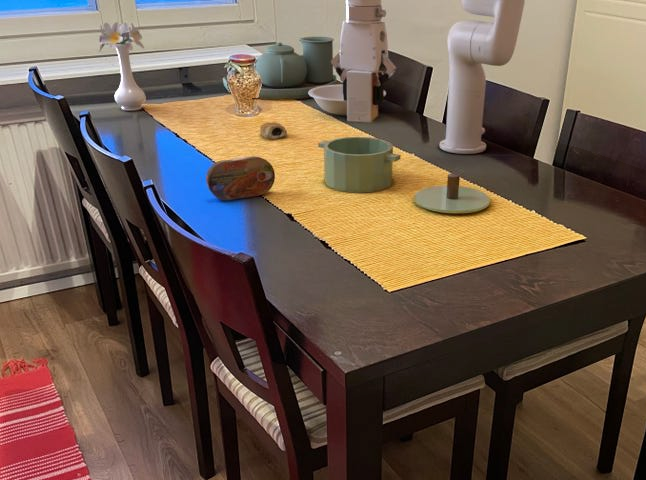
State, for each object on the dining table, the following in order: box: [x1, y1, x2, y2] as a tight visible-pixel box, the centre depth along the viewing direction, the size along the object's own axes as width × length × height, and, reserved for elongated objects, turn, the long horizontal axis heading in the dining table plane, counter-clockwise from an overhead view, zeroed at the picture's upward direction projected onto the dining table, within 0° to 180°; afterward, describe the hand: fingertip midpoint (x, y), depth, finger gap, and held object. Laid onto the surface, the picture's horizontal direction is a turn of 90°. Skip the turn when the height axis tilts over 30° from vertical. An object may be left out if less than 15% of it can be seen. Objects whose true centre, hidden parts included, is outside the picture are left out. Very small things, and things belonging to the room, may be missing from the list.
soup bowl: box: [308, 83, 387, 116], centre depth 230 cm, size 24×24×7 cm
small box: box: [346, 70, 379, 123], centre depth 164 cm, size 8×6×10 cm
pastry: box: [259, 121, 287, 141], centre depth 208 cm, size 9×7×4 cm
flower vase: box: [97, 21, 147, 112], centre depth 227 cm, size 13×18×25 cm
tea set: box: [222, 36, 338, 101], centre depth 258 cm, size 40×40×16 cm
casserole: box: [317, 136, 402, 193], centre depth 172 cm, size 16×21×8 cm
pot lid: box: [413, 173, 491, 214], centre depth 161 cm, size 17×17×6 cm
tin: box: [205, 155, 276, 202], centre depth 162 cm, size 15×3×8 cm, turn 117°
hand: (363, 101), depth 165 cm, fingers closed on small box, 7 cm apart
